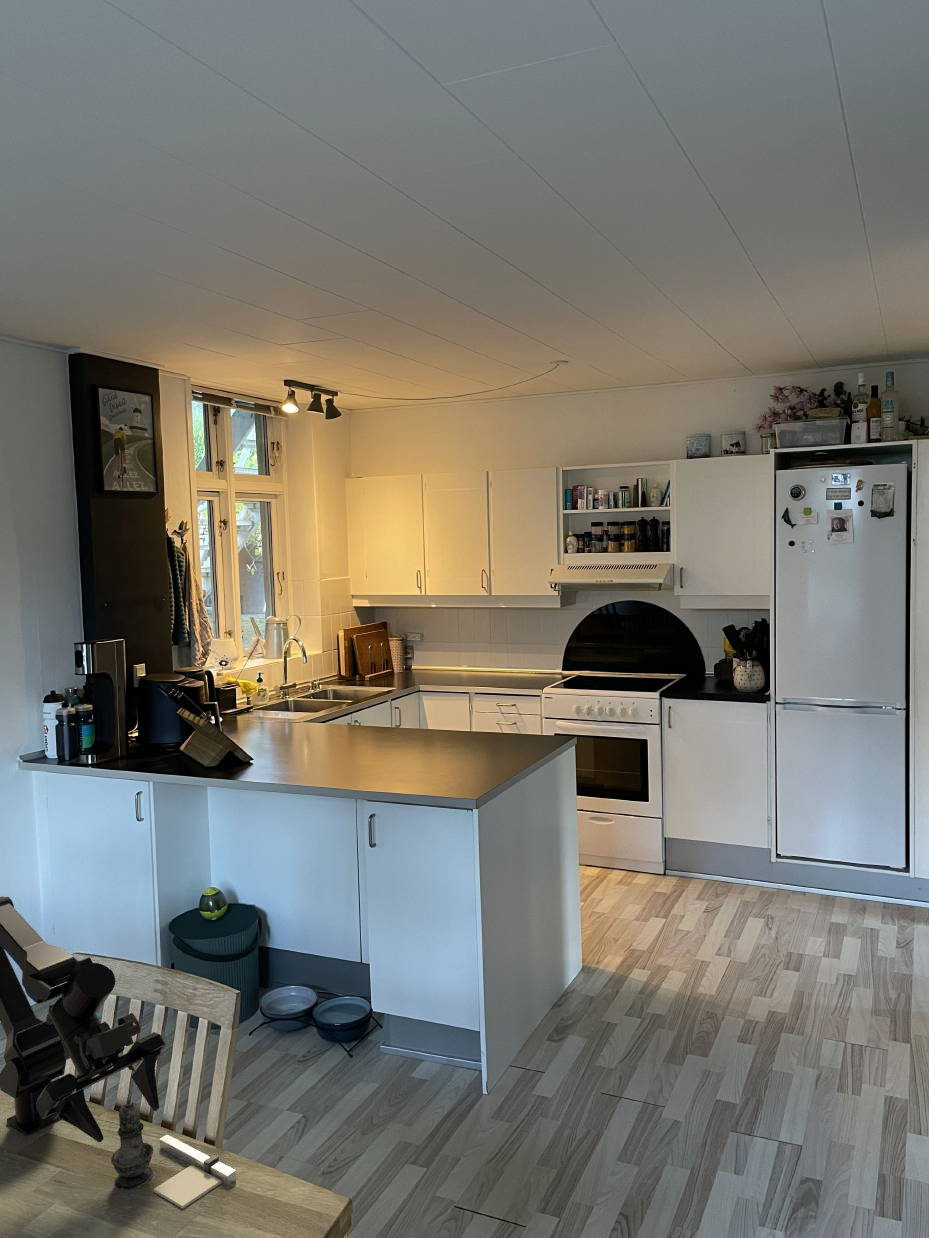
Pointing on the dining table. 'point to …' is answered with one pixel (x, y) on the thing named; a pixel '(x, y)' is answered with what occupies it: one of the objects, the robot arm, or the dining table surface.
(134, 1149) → the dark grey tiered figure
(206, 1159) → the white rectangular bar
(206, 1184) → the groove pad
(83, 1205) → the dining table surface
